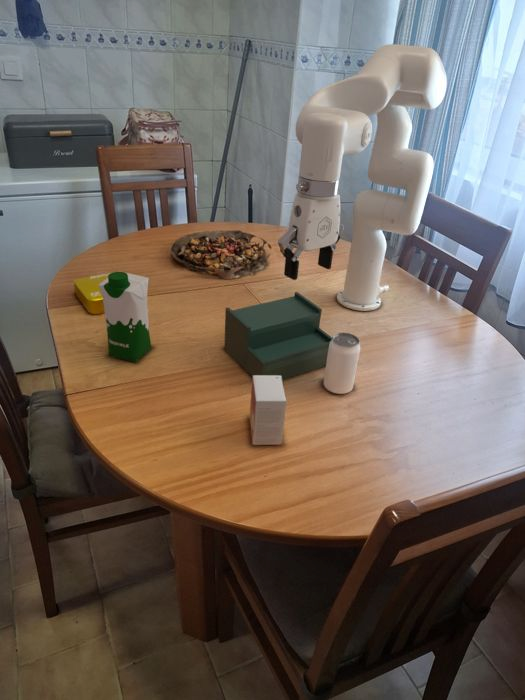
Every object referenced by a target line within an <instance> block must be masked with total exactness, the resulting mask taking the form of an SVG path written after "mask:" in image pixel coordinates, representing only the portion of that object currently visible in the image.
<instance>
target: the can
mask: <svg viewBox="0 0 525 700" xmlns="http://www.w3.org/2000/svg"><path fill="white" fill-rule="evenodd" d="M331 337H332V340H331V341H330V344H329V349H328V356H327V362H326V366H325V368H324V369H325V370H324V377H323V386H324V388H325V389H326V390H327V391H328V392H330V393H332V394H335V395H345V394H348V393H350V392H351V391H352V390H353V388H354V384H355V378H356V375H357V374H356V373H357V368H358V363H359V358H360V353H361V344H360V341H361V340H360V339H359V337H358V336H357V335H354V334H353V333H349V332H338V333H334V335H333V336H331Z"/></svg>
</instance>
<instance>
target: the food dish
mask: <svg viewBox="0 0 525 700" xmlns="http://www.w3.org/2000/svg"><path fill="white" fill-rule="evenodd" d="M253 238H258V239H260V240H261V241H262V245H261V243H260V242H257V243H256V242H254V241H252V239H253ZM266 244H267V246H268V248H269V249H270V250H272V249H273V247H272V245H271V244H270V243H268V242H267V240H266V239H264V238H263V237H262V238H261V237H260V236H259V237H257V235H255V234H252V233H250V232H244V231H242V230H239V229H238V230H237V229H233V230H232V229H231V230H226V229H225V230H221V229H219V230H205V231H198V232H193V233H190V234H185V235H183V236H180V237H179V238H178V239H176V240H175V241H174V242H172V244H171V246H170V247H169V251H170V255H171V256H172V257H173V259H175V261H176V262H177V263H178V264H180V265H182V266H183V267H185V268H187V269H189V270H190V271H192V272H195V273H200V274H202V275H211V276H218V277H220V278H221V279H224V280H233V279H237V278H240V277H242V276H247V275H254V273H255V272H257V271H262V270H263V269H264V267H265V266H267V262H268V259H269V257H270V256H271V253H269V254H268V255H267V256H265V253H266V250H265V248H264V247H265V245H266Z"/></svg>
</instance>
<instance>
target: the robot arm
mask: <svg viewBox="0 0 525 700" xmlns="http://www.w3.org/2000/svg"><path fill="white" fill-rule="evenodd" d="M447 78H448V77H447V73H446V68H445V67H444V64H443V61H442V58H441V57H440V55H439V54H438V52H436V50H434V49H433V48H432V47H429V46H422V45H421V46H420V45H409V44H397V43H394V44H393V43H390V44H384V45H381V46H380V47H378V48H377V49H375V51H374V52H373V53H372V55H371V56H370V57H369V58H368V59H367V61H366V62H365V63H364V64H363V66H362V67H361V68H360V69H359V71H358V72H357V73H356V74H355V75H352V76H349V77H346V78H344V79H341V80H339V81H336V82H334V83H331V84H328V85H326V86H324V87H321V88H320V89H319V90H317V91H316V92H314V94H312V96H311V97H310V98H309V99H308V101H307V102H305V104H304V105H303V107H302V108H301V110H300V112H299V114H298V116H297V119H296V121H295V136H296V139H297V141H298V143H299V144H301V150H300V151H301V152H300V160H299V162H300V163H299V172H298V181H297V184H296V185H295V189H296V194H295V195H294V199H293V203H292V207H291V211H290V217H289V223H288V230H287V231H286V232H285V233H283V235H282V236H281V237H279V238H278V239H277V244H278V247H279V251H280V253H281V254H282V257H284V258H285V261H284V269H283V270H284V271H283V274H284V276H285V277H287V278H289V279H291V280H293V281H296V280H298V277H299V276H298V275H299V268H300V267H299V266H300V260H298V258H299V257H300V256H301V254H302V252H311V251H315V250H319V253H318V260H317V265H318V266H319V267H321V268H324V269H326V270H331V269H332V264H333V256H334V251H335V250H336V249H337V244H338V243H339V241H340V239H341V235H342V234H343V231H344V228H345V226H344V225H343V224H341V222H340V221H341V196H340V195H341V194H340V193H339V186H340V180H341V172H342V165H343V158H344V156H355V155H358V154H360V153H362V152H363V151H364V150H365V149H366V148H367V147H368V146H369V144H370V143H371V140H372V136H373V122H372V120H371V119H370V117H369V116H372V115H376V130H375V135H374V140H373V144H372V149H371V153H370V158H369V162H368V169H367V177H368V179H369V181H370V182H371V183H373V184H375V185H379V186H383V187H389V188H394V189H399V190H404V191H405V192H406V194H407V195H403V194H398V193H394V192H388V191H384V190H379V189H365V190H363V191H360V192H359V193H358V194H357V196H356V197H355V199H354V202H353V206H352V226H353V227H352V235H351V242H350V248H349V255H348V262H347V266H346V267H347V268H346V274H345V280H344V284H343V285H344V287H343V289H341V290H340V291H338V293H337V295H336V300H337V302H338V303H339V304H340V305H341V306H343V307H345V308H348V309H351V310H352V311H353V310H355V311H360V312H368V311H369V312H370V311H374V310H377V309H379V308H380V307H381V304H382V299H381V297H380V295H381V294H382V293H386V292H389V290H390V287H389V285H388V284H385V285H381V286H380V282H381V277H382V270H383V266H384V263H385V256H386V252H387V241H386V237H385V234H384V232H387V233H391V234H392V233H393V234H398V235H401V236H411V235H413V234H415V232H416V231H417V230H418V228H419V226H420V223H421V219H422V216H423V213H424V209H425V205H426V200H427V197H428V193H429V190H430V186H431V182H432V177H433V173H434V165H435V163H434V158H433V156H432V155H431V154H430V153H429V152H426V151H424V150H418V149H413V148H409V143H410V140H411V135H412V132H413V123H412V120H411V117H410V114H409V113H408V111H407V108H411V109H418V110H419V109H420V110H428V111H429V110H434V109H436V108H437V107H439V106H440V104H442V102H443V100H444V98H445V96H446V92H447V87H448V86H447V85H448V79H447ZM294 248H295V251H294V252H293V250H294Z"/></svg>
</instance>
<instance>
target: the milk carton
mask: <svg viewBox="0 0 525 700" xmlns="http://www.w3.org/2000/svg"><path fill="white" fill-rule="evenodd" d="M112 272H113V273H110V272H109V273H110V274H109V275H108V278H107V279H106V280H104V281H103V282H101V283H100V284H99V288H100V291H101V294H102V297H103V302H104V310H105V313H104V318H105V325H106V326H105V327H106V335H107V348H108V356H109V357H113V358H117V359H121V360H124V361H127V362H131V363H137V362H138V361H139V360H140V359H141V358H142V357H143V356H144V355H145V354H147V352H149V350H150V349H152V342H151V336H150V335H151V334H150V323H149V308H148V290H149V289H148V288H149V280H150V279H149V277H147V276H142V275H137V274H134V273H129V272H127V273H124V272H116V271H112Z"/></svg>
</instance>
